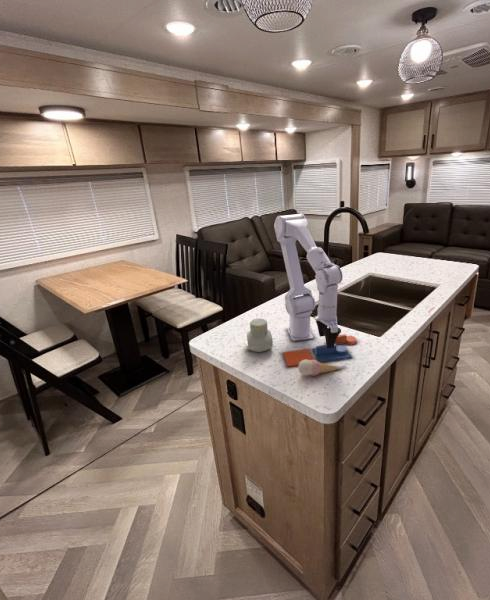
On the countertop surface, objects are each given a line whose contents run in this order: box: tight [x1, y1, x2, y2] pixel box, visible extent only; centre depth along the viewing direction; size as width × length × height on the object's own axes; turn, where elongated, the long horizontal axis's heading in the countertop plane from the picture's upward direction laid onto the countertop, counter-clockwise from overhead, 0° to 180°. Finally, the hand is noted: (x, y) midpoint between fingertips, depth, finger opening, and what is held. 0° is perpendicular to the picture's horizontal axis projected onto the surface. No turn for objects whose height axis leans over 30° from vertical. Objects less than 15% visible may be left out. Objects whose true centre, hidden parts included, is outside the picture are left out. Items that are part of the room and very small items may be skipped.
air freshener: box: [246, 318, 274, 353], centre depth 111 cm, size 11×8×10 cm
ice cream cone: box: [297, 359, 343, 376], centre depth 98 cm, size 5×5×15 cm
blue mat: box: [312, 344, 352, 363], centre depth 108 cm, size 8×11×1 cm
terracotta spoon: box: [335, 333, 357, 345], centre depth 114 cm, size 11×4×3 cm, turn 102°
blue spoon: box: [314, 344, 348, 357], centre depth 107 cm, size 11×4×3 cm, turn 102°
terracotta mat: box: [282, 348, 315, 368], centre depth 106 cm, size 8×9×1 cm
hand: (326, 341), depth 106 cm, fingers open, 7 cm apart
